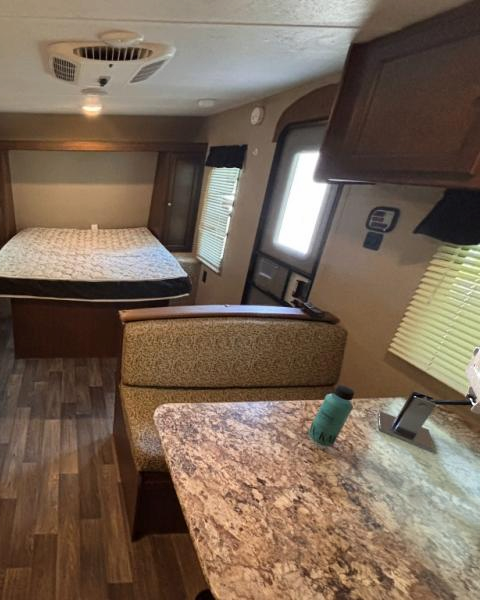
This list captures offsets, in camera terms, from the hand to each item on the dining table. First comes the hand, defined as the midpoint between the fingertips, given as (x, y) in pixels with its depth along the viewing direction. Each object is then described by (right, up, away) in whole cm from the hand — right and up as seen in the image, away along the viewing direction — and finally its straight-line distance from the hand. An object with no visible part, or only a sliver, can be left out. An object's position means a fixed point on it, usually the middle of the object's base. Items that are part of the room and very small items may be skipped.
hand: (471, 405), depth 88 cm
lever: (-3, -1, +3) cm, 5 cm away
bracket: (-7, -12, +12) cm, 18 cm away
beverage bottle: (-38, -13, +6) cm, 41 cm away
